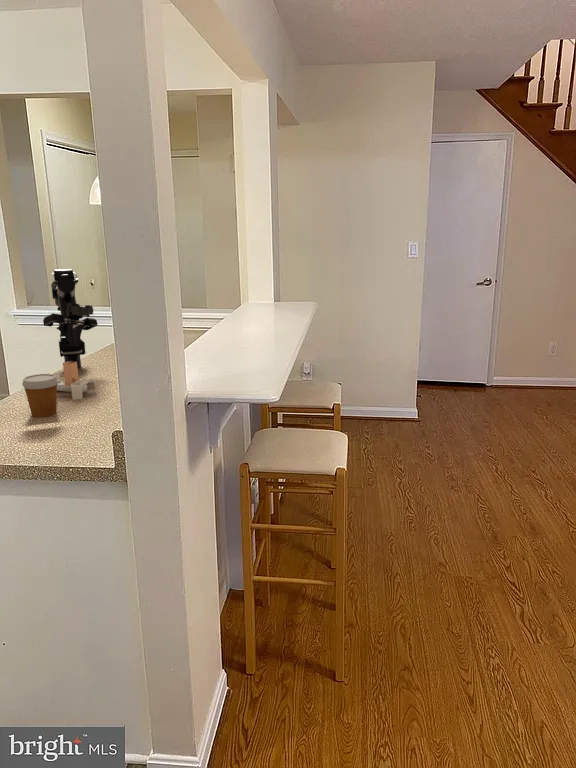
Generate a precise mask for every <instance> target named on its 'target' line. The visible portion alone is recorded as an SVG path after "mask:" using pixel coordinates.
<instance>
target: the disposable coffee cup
mask: <svg viewBox="0 0 576 768" xmlns="http://www.w3.org/2000/svg"><path fill="white" fill-rule="evenodd" d="M58 381H59V379H58V377H57V376H56V375H55V374H54V373H39V374H32V375H28V376H25V377H24V378H23V380H22V383H21V385H22V387H23V388H24V391H25V395H26V398H27V402H28V406H29V410H30V412H31V416H32V417H33V418H37V419H39V418H41V419H43V418H49V417H53V416H54V415H56V414H57V413H58V411H57V410H58V409H57V407H58V405H57V404H58V402H57V383H58Z"/></svg>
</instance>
